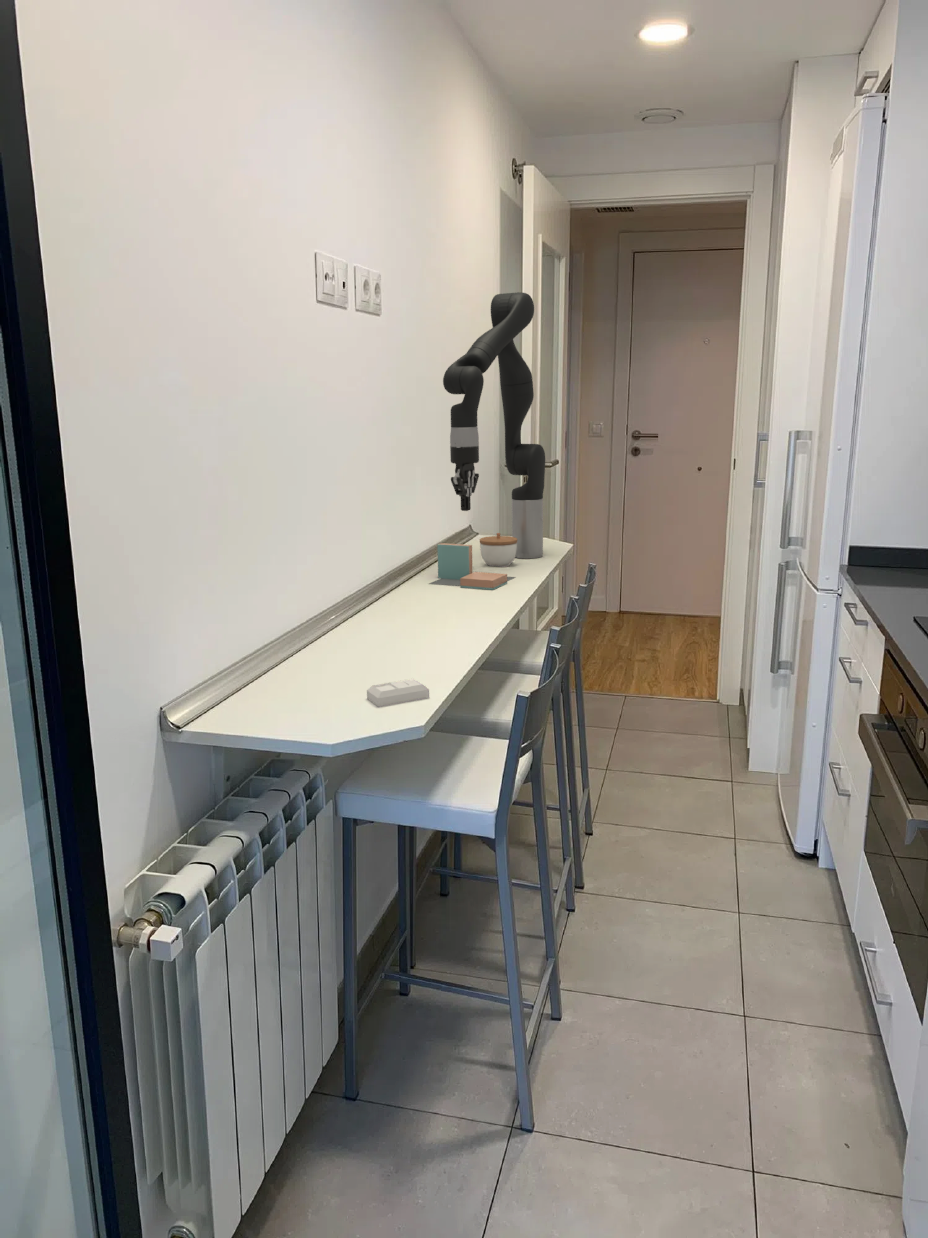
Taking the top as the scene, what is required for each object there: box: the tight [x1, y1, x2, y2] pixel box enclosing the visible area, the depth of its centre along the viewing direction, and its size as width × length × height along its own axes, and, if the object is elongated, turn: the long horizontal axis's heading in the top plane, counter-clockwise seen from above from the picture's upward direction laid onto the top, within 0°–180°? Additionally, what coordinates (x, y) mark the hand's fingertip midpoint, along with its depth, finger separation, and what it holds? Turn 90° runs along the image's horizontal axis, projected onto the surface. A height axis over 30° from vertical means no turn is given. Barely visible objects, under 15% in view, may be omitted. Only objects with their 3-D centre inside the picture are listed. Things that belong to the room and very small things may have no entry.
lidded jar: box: [479, 532, 517, 568], centre depth 268 cm, size 11×11×9 cm
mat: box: [428, 576, 517, 587], centre depth 247 cm, size 16×18×1 cm
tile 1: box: [436, 542, 474, 580], centre depth 249 cm, size 2×9×9 cm, turn 64°
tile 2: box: [459, 571, 508, 591], centre depth 240 cm, size 2×9×9 cm
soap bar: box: [366, 678, 430, 708], centre depth 155 cm, size 5×9×3 cm, turn 117°
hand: (465, 510), depth 252 cm, fingers closed
